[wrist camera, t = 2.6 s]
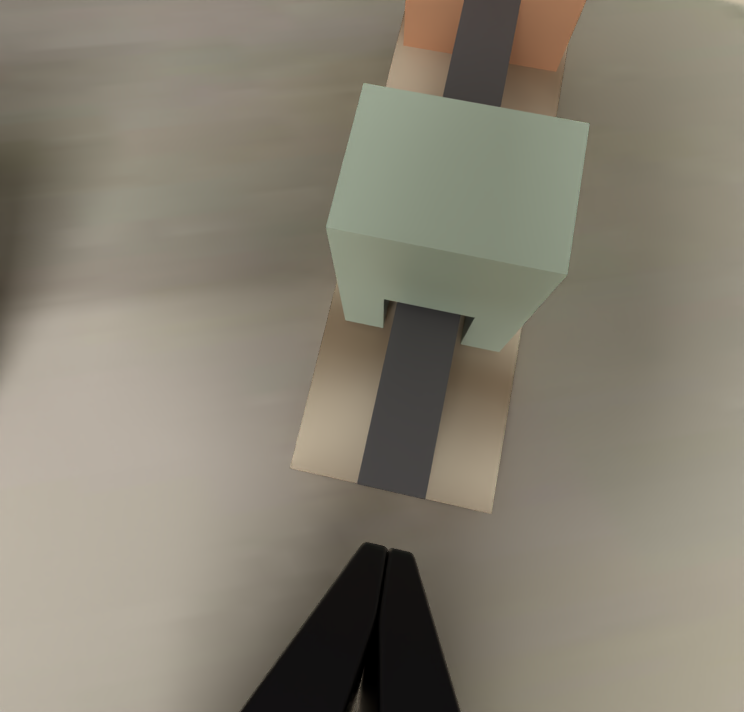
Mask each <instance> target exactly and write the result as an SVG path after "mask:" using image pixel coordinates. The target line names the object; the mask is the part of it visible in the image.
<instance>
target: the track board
mask: <svg viewBox="0 0 744 712" xmlns="http://www.w3.org/2000/svg"><path fill="white" fill-rule="evenodd" d="M404 22H405V12H404V16H403V20H402V24H401V28H400V31H399V35H398V39H397V43H396V47H395V51H394V55H393V59H392V63H391V67H390V71H389V75H388V79H387V83H386V87H389V88H395V89H400V90H406V91H412V92H417V93H423V94H429V95H434V96H440V97H443V93H444V89H445V84H446V79H447V75H448V70H449V66H450V61H451V57H452V54H449V53H444V52H438V51H432V50H426V49H420V48H415V47H409V46H403V42H404ZM567 48H568V45H567V47H566V50H565V52H564V54H563V57H562V59H561V61H560V64H559V66H558V69H557V71H556V72H554V71H548V70H542V69H536V68H531V67H525V66H519V65H513V64H509V66H508V71H507V76H506V81H505V87H504V92H503V97H502V102H501V107H502V108H507V109H513V110H518V111H524V112H530V113H535V114H541V115H547V116H552V117H556V115H557V109H558V103H559V97H560V91H561V85H562V79H563V72H564V66H565V60H566V54H567ZM396 305H397V302H396V301H391V300H390V301H389V305H388V309H387V314H386V318H385V323H384V327H383V328H380V327H375V326H370V325H365V324H361V323H356V322H351V321H346V320H345V316H344V312H343V307H342V302H341V297H340V293H339V288H338V283H337V282H336V286H335V290H334V294H333V298H332V302H331V306H330V310H329V314H328V318H327V322H326V326H325V330H324V334H323V338H322V342H321V346H320V350H319V354H318V358H317V362H316V366H315V370H314V374H313V378H312V382H311V386H310V390H309V394H308V398H307V402H306V406H305V410H304V414H303V418H302V422H301V426H300V430H299V434H298V438H297V442H296V446H295V450H294V454H293V458H292V462H291V466H290V468H291V469H296V470H300V471H304V472H309V473H313V474H318V475H322V476H326V477H331V478H335V479H340V480H344V481H348V482H353V483H357V481H358V477H359V472H360V468H361V463H362V459H363V454H364V450H365V445H366V441H367V436H368V432H369V427H370V423H371V418H372V414H373V409H374V405H375V400H376V395H377V391H378V386H379V382H380V377H381V373H382V368H383V364H384V359H385V355H386V350H387V346H388V341H389V337H390V332H391V328H392V323H393V319H394V314H395V310H396ZM464 322H465V316H464V315H461V316H460V321H459V327H458V332H457V337H456V342H455V347H454V353H453V358H452V363H451V368H450V374H449V379H448V384H447V389H446V394H445V400H444V405H443V410H442V415H441V420H440V426H439V431H438V436H437V441H436V447H435V452H434V457H433V462H432V467H431V473H430V478H429V483H428V488H427V493H426V499H428V500H432V501H436V502H441V503H445V504H449V505H454V506H458V507H463V508H467V509H471V510H476V511H480V512H485V513H489V514H491V513H492V507H493V501H494V495H495V489H496V483H497V476H498V470H499V464H500V458H501V452H502V446H503V440H504V434H505V427H506V421H507V415H508V409H509V403H510V397H511V391H512V385H513V378H514V372H515V366H516V360H517V354H518V348H519V342H520V336H521V330H522V327H521V328H520V329H519V330H518V332H517V333H516V334H515V335H514V336H513V337H512V338H511V339H510V341H509V342H508V343H507V344H506V345H505V346H504V347H503V349H502V350H501V351H500V352H495V351H491V350H486V349H481V348H476V347H471V346H467V345H462V344H460V343H461V337H462V332H463V327H464Z"/></svg>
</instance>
